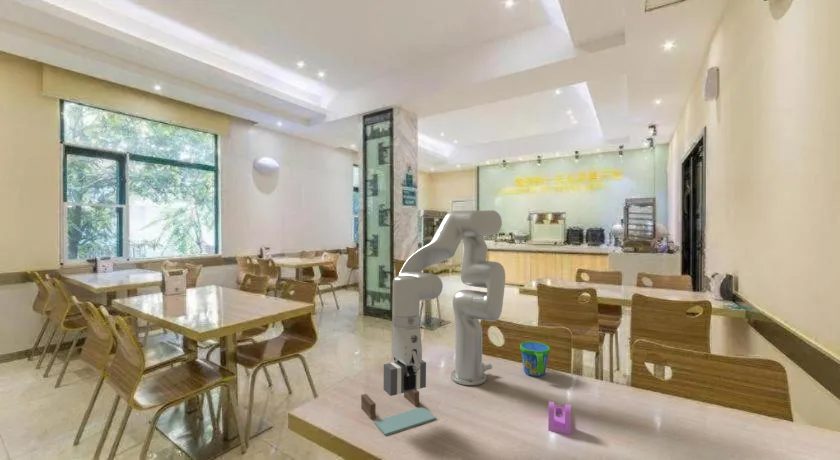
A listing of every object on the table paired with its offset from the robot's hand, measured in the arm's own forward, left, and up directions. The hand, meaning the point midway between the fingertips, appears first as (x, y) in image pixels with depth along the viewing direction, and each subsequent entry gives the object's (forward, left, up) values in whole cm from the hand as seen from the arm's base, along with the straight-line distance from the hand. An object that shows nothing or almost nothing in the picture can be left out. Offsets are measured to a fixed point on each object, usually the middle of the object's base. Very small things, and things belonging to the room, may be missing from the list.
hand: (405, 384), depth 102 cm
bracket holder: (0, -10, -10) cm, 14 cm away
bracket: (-38, +21, -11) cm, 45 cm away
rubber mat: (0, 0, -10) cm, 10 cm away
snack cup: (-57, -5, -11) cm, 58 cm away
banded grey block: (0, 0, -1) cm, 1 cm away
